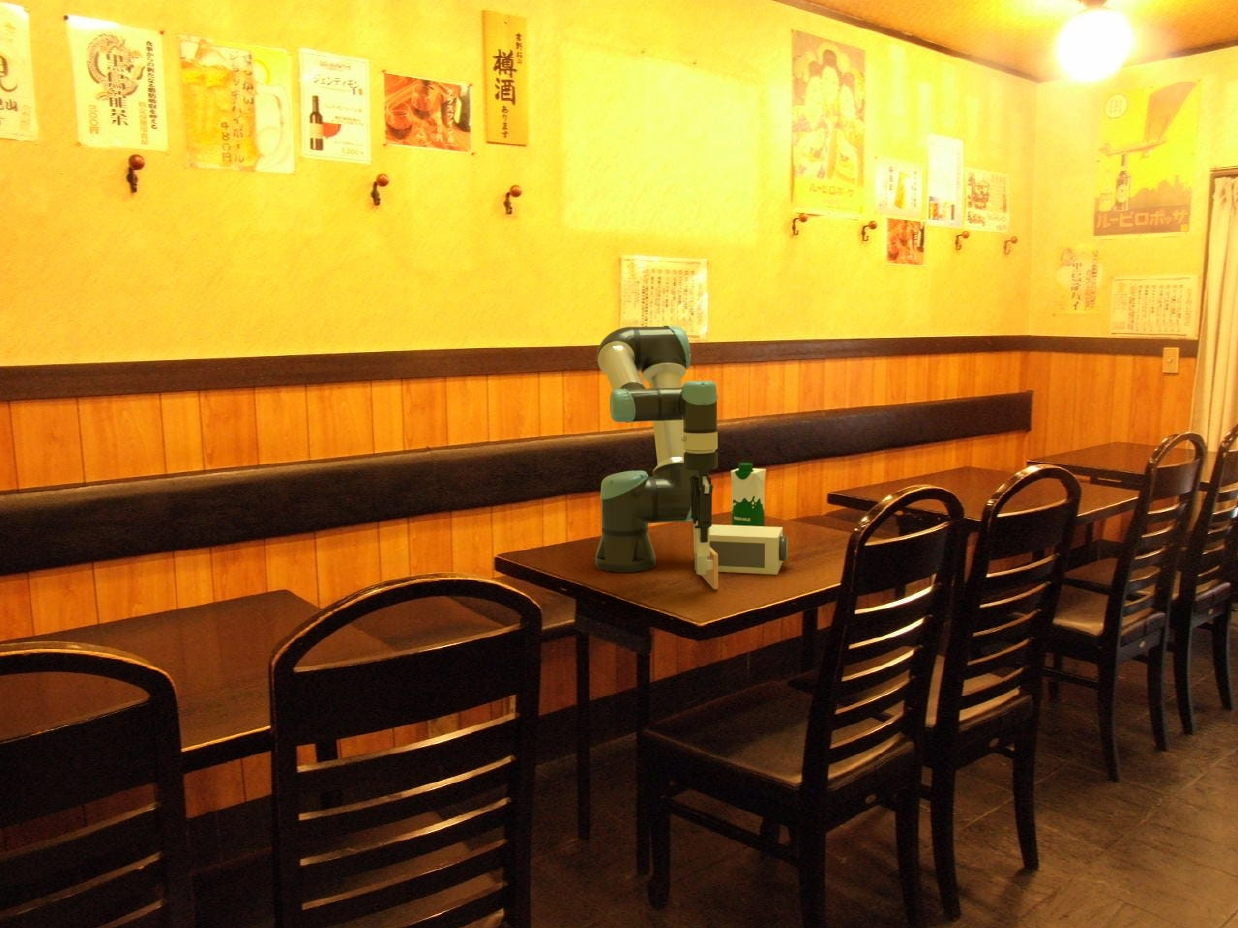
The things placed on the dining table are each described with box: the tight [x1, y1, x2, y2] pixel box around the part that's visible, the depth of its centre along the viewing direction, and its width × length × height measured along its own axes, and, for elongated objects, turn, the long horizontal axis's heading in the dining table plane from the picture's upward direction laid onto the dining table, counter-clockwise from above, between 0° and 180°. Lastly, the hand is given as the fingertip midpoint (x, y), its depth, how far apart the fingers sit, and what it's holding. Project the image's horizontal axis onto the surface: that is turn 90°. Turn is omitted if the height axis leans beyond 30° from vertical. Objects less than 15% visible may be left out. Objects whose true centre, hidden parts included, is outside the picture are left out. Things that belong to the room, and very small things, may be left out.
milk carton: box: [730, 462, 767, 527], centre depth 280 cm, size 9×9×20 cm
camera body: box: [694, 524, 789, 576], centre depth 242 cm, size 22×12×9 cm, turn 75°
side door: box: [695, 521, 719, 590], centre depth 228 cm, size 18×5×16 cm, turn 9°
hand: (701, 553), depth 221 cm, fingers open, 3 cm apart
